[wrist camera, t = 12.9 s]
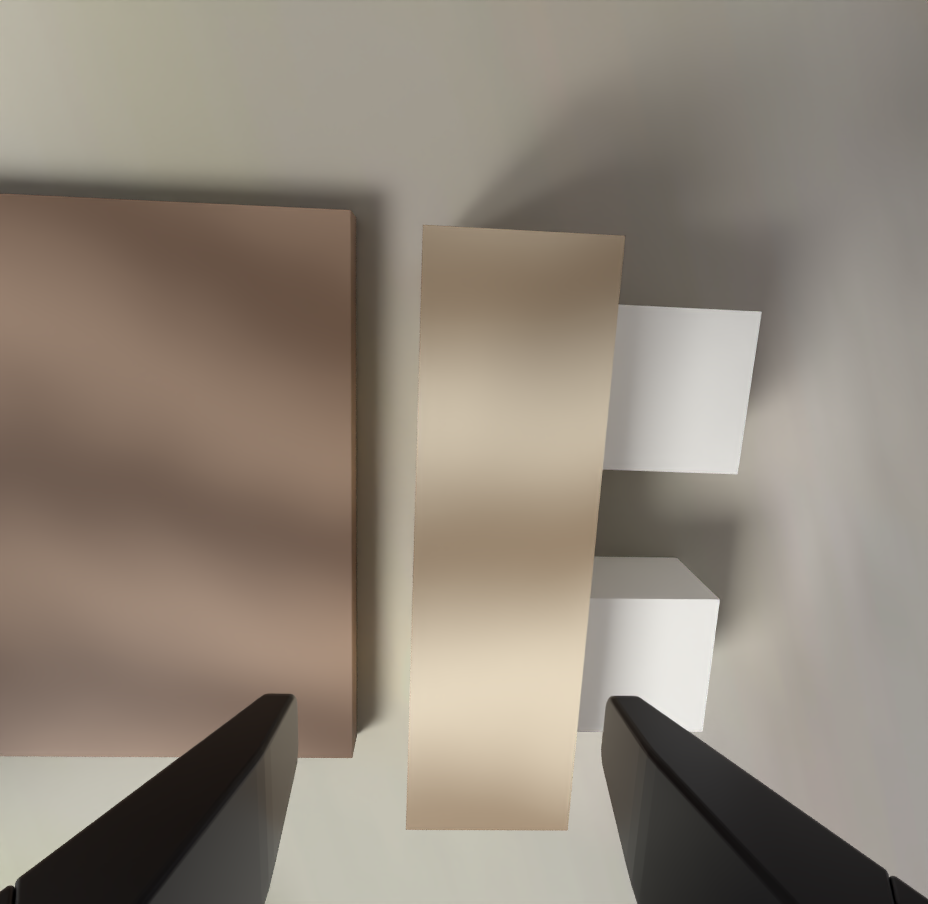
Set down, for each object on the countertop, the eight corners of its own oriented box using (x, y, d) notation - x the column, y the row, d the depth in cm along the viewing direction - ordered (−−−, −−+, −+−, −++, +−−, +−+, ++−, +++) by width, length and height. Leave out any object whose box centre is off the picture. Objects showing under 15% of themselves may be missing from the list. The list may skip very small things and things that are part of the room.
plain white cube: (662, 669, 19) (702, 731, 16) (541, 669, 19) (560, 731, 16) (674, 555, 18) (719, 599, 15) (549, 554, 18) (570, 598, 15)
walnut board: (356, 735, 19) (352, 757, 18) (-88, 732, 18) (-118, 755, 17) (356, 217, 16) (350, 210, 15) (-189, 191, 15) (-233, 182, 14)
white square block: (687, 449, 18) (737, 474, 15) (557, 445, 17) (581, 468, 14) (705, 314, 17) (761, 311, 14) (568, 307, 16) (596, 303, 14)
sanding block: (535, 702, 19) (567, 830, 14) (415, 700, 19) (406, 829, 14) (570, 263, 16) (625, 235, 11) (428, 256, 16) (422, 225, 11)
